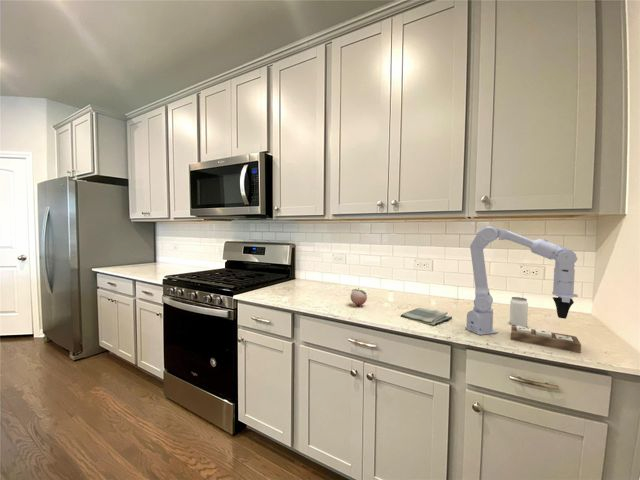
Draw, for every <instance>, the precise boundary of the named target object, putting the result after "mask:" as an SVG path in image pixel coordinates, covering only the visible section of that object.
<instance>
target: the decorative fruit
mask: <svg viewBox="0 0 640 480" xmlns="http://www.w3.org/2000/svg"><path fill="white" fill-rule="evenodd" d="M350 300H351V302H352V303H353V304H355V305H356V306H358V307H359V306H362V305H364V304H365V303H366V302H367V300H368V294H367V292H366V291H365V290H363V289H360V288H359V287H358V288H355V289H354V288H353V289H351V293H350Z"/></svg>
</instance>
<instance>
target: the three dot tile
mask: <svg viewBox="0 0 640 480" xmlns="http://www.w3.org/2000/svg"><path fill="white" fill-rule="evenodd" d="M531 329H532V328H531V327H528V326H526V327H523V326H517V328H516V332H522V333H528V334H531Z"/></svg>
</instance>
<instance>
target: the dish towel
mask: <svg viewBox="0 0 640 480" xmlns="http://www.w3.org/2000/svg"><path fill="white" fill-rule="evenodd" d="M400 318H403V319H408V320H409V321H414V322H417V323H420V324H424V325H428V326H432V327H435V326H438V325H441V324H443V323H446V322H449V321H451V320H453V316H452V315H451V316H450V315H448V311H442V310H441V311H440V310H435V309H431V308H424V307H417V308H414V309H411V310H408V311H406V312H404V313H402V314H400Z"/></svg>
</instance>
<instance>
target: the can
mask: <svg viewBox="0 0 640 480" xmlns="http://www.w3.org/2000/svg"><path fill="white" fill-rule="evenodd" d="M509 303H510V304H509V323H510V325H511V326H523V327H528V315H529V314H528V313H529V302H528V299H527V298H525V297H518V296H512V297H511V299H510V302H509Z"/></svg>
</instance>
